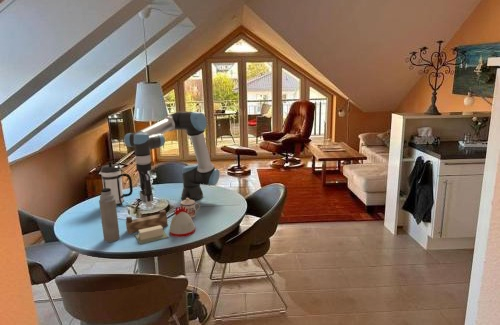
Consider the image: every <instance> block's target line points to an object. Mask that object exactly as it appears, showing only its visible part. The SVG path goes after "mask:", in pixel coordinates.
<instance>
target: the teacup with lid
mask: <svg viewBox="0 0 500 325" xmlns="http://www.w3.org/2000/svg"><path fill="white" fill-rule="evenodd" d="M196 205H197V206H198V207H197V209H196ZM181 206H183V208H184V207H185V211H186V209H188V210H187V214H189V216H190V217H191V218H192V219H193V218H196V214H197V213H196V212H197V211H199V210H200V207H201V205H200V203H198V202H196V200H191V199H189V198H186V200H181V201H180V207H181Z"/></svg>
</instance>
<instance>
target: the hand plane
mask: <svg viewBox="0 0 500 325" xmlns="http://www.w3.org/2000/svg"><path fill="white" fill-rule="evenodd" d="M125 225H126V226H125V227H126V232H127V234H128V235H131V234H136V233H139V230H141V229H145V228H150V227H155V226H159V225H161V226H162V227H163V228H164V227H167V226H168V225H169V224H168V215H167V211H166V209H162V210H161V209H160V210H159V213H158V214H153V215H148V216H145V217H139V218H134V219H133V217H132V216H127V217H126V218H125Z"/></svg>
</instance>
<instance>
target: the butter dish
mask: <svg viewBox="0 0 500 325" xmlns="http://www.w3.org/2000/svg"><path fill="white" fill-rule="evenodd" d="M134 237H135V238H136V240H137V242H138V243H139V245H143V244H147V243H152V242H156V241H161V240H164V239H168V238H169V236H168V235H167V233H166V232H165V231H164V226H163V227H162V226H161V225H159V226H155V227H150V228H145V229H141V230H139V232H138V234H135V235H134Z"/></svg>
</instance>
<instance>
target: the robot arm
mask: <svg viewBox="0 0 500 325" xmlns="http://www.w3.org/2000/svg"><path fill="white" fill-rule="evenodd" d="M207 123H208V121H207V118H206V115H205V114H204V113H202V111H201V112H200V111H196V110H195V111H177V112H174V113H171V114H168V115H166V116H164V117H163V118H162V119H161V120H160V121H158V122H156V123H153V124H151V125H149V126H146V127H145V128H142V129H141V130H138V131H136V132H129V133H126V134H125V135H124V137H123V138H124V139H123V142H124V144H125V146H126V147H131V148H134V156H135V157H134V160H135V166H136V168H135V169H136V171H137V172H138V173H139V184H140V187H139V188H140V191H143V190H144V189H145V192H146V195H145V196H146V202H145V206H146V208H151V207H153V204H152V202H153V201H151V195H152V193H153V192H152V186H151V185H152V184H151V176H150V174H149V172H150V171H151V170H152V163H151V162H152V158H151V151H152V150H155V149H159V148H161V147H163V146H164V145H165V142H166V140H165V139H166V138H165V136H164V134H165V133H167V132H173V131H176V130H178V131H179V130H181V131H186V134H187V136H188V137H189V138H190V140H191V143H192V147H193V151H194V154H195V155H194V156H195V158H196V161H197V162H196V163H197V164H196V163H195V164H189V165H185V166H183V167H182V169H181V171H182V172H181V174H182V184H183V186H182V187H183V188H182V191H181V199H182V201H184V200H186V198H189V199H191V200H194V201H198V200H202V198H204V193H203V190H202V188H201V185H204V186H216V185H217V184H218V182H219V179H220V170H219V169H218V168H215V164H214V163H212V161H211V157H210V154H209V149H208V146H207V142H206V138H205V134H204V133H205V131H206V129H207V126H208V124H207Z"/></svg>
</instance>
